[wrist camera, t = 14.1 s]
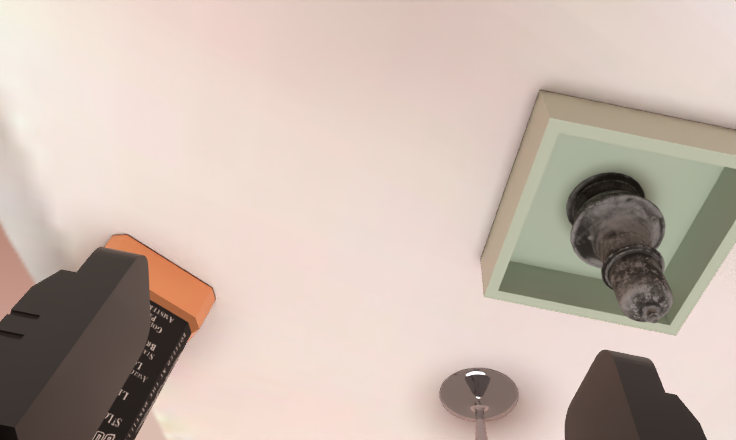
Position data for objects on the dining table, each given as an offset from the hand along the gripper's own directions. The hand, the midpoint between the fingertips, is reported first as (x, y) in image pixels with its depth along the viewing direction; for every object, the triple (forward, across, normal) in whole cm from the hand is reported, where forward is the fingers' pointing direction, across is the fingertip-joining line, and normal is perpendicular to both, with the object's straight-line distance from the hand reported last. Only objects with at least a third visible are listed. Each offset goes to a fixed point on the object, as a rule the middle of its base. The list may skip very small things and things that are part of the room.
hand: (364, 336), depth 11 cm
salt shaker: (+30, -16, +12) cm, 36 cm away
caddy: (+30, -16, +12) cm, 36 cm away
